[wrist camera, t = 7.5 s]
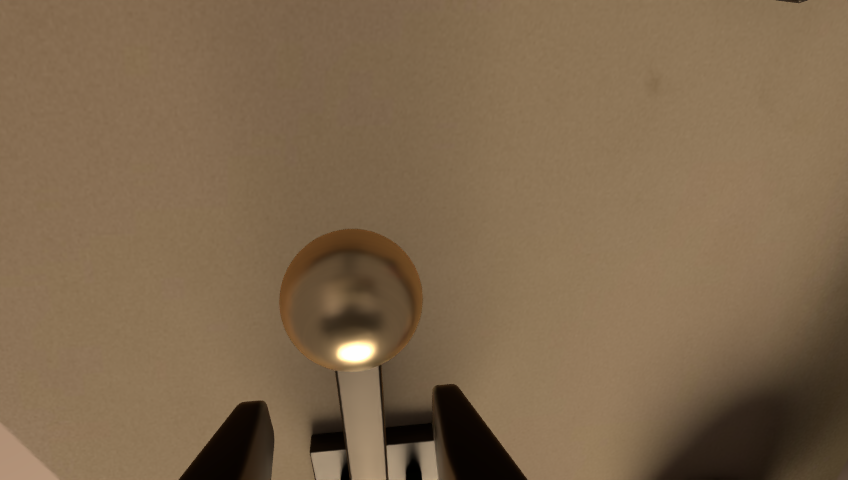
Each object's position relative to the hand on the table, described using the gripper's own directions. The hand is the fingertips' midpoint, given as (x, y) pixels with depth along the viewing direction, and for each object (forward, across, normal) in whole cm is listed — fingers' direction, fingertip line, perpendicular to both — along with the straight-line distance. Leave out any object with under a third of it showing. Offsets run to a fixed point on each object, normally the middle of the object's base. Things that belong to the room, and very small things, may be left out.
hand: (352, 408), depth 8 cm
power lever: (+5, 0, +11) cm, 12 cm away
